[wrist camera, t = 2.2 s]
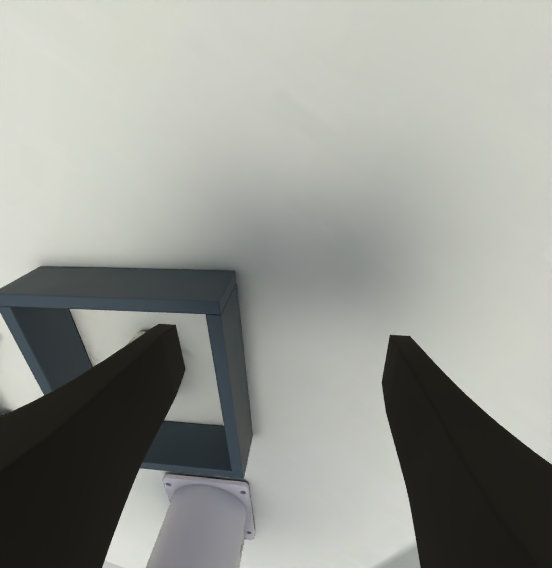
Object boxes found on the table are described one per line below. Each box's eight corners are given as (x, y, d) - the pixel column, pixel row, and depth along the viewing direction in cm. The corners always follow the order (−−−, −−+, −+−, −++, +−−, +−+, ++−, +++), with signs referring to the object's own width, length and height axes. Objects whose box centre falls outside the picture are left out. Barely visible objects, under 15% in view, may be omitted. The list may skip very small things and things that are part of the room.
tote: (252, 435, 25) (243, 479, 22) (106, 422, 27) (79, 462, 24) (235, 270, 18) (219, 301, 15) (39, 265, 20) (-11, 293, 17)
